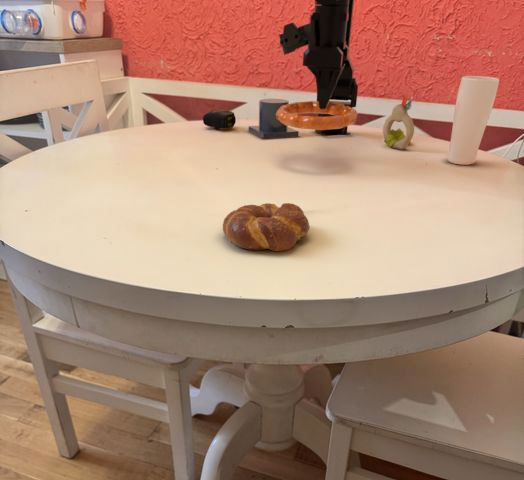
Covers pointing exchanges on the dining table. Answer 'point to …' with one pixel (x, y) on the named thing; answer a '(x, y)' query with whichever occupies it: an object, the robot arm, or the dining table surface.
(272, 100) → the cup stand
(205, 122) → the tape measure
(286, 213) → the pretzel
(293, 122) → the ring
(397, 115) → the beige hollow ornament
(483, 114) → the drinking glass
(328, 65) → the robot arm
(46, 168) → the dining table surface
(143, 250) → the dining table surface
